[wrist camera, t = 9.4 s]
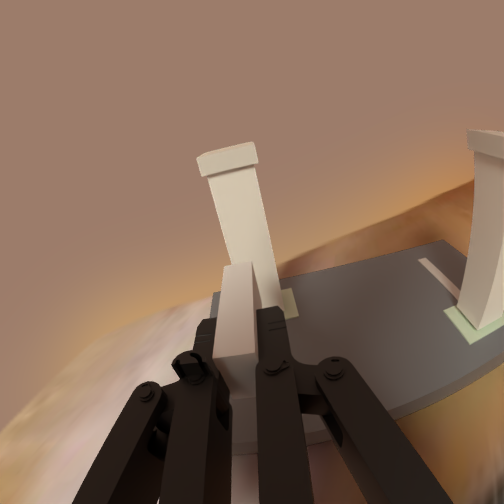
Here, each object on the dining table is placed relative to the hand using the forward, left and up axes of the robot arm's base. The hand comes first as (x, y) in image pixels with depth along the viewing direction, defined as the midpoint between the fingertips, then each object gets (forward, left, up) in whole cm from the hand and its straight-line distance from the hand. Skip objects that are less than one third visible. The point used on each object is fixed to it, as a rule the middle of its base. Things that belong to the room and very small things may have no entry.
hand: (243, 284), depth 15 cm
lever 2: (-17, +2, -6) cm, 18 cm away
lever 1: (-1, -6, -6) cm, 8 cm away
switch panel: (-9, -2, -8) cm, 12 cm away
